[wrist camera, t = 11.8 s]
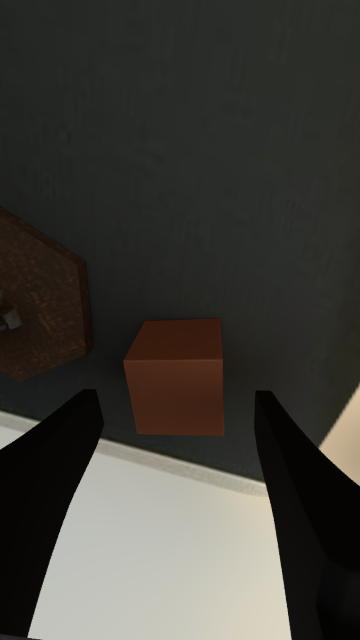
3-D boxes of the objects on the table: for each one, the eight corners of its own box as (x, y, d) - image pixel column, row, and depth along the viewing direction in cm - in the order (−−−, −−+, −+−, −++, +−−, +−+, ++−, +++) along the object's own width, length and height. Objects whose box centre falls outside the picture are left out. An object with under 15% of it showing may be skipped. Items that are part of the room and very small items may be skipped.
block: (153, 381, 18) (136, 434, 14) (144, 320, 16) (122, 360, 12) (221, 381, 17) (224, 437, 13) (220, 317, 15) (222, 359, 11)
